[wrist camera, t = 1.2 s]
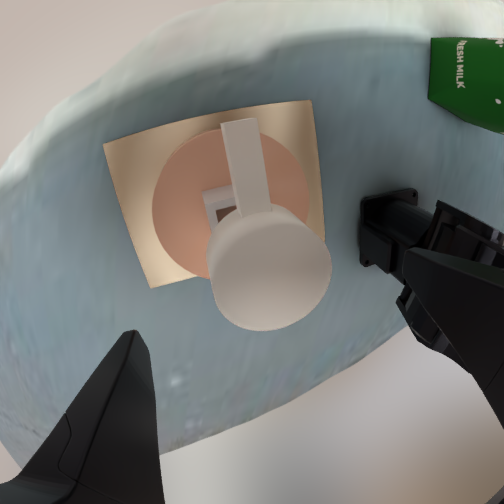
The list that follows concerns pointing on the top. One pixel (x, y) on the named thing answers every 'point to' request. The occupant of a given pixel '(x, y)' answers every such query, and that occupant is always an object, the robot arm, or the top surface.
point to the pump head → (262, 246)
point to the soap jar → (215, 194)
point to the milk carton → (469, 79)
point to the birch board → (165, 143)
